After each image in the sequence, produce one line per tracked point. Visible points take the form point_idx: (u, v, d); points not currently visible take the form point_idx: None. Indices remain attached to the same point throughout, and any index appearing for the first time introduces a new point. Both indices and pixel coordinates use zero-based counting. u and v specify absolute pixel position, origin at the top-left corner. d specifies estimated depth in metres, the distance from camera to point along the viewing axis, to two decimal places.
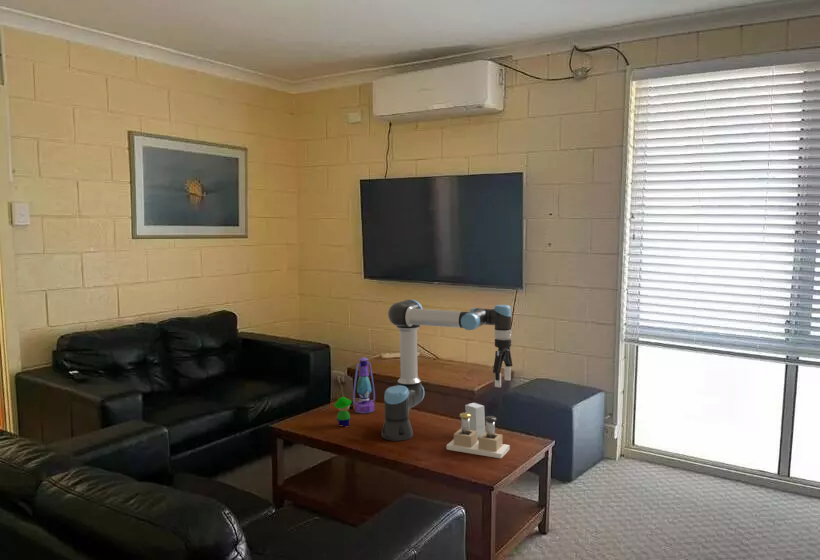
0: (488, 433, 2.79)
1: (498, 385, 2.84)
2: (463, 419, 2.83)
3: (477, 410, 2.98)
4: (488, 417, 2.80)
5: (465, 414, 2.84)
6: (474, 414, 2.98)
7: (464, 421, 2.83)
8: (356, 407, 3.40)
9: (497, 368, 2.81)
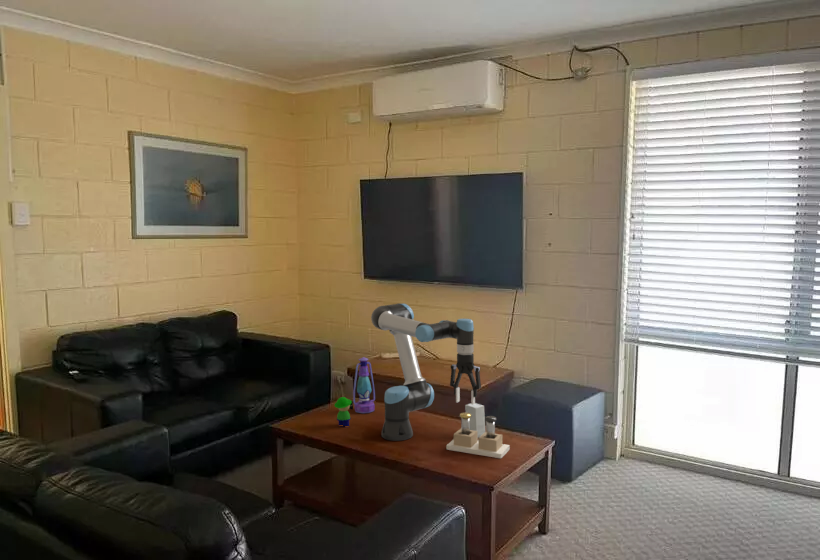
0: (488, 433, 2.79)
1: None
2: (463, 419, 2.83)
3: (477, 410, 2.98)
4: (488, 417, 2.80)
5: (465, 414, 2.84)
6: (474, 414, 2.98)
7: (464, 421, 2.83)
8: (356, 407, 3.40)
9: None
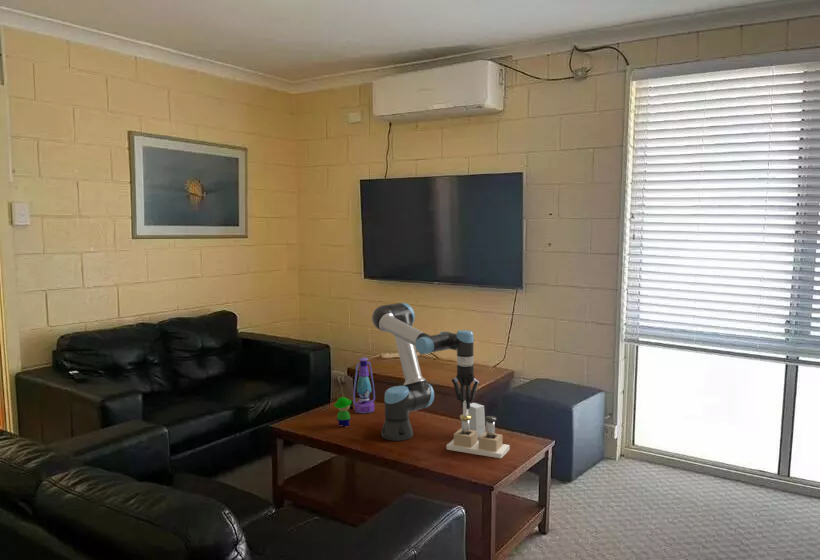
0: (488, 433, 2.79)
1: None
2: (463, 421, 2.83)
3: (477, 410, 2.98)
4: (488, 417, 2.80)
5: None
6: (474, 414, 2.98)
7: (464, 423, 2.83)
8: (356, 407, 3.40)
9: None
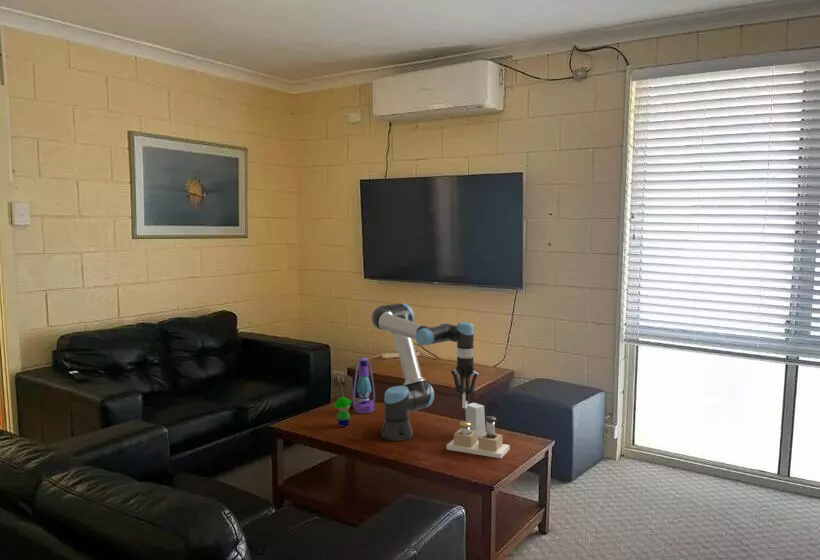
0: (488, 433, 2.79)
1: None
2: (463, 428, 2.84)
3: (477, 410, 2.98)
4: (488, 417, 2.80)
5: (465, 423, 2.85)
6: (474, 414, 2.98)
7: (464, 430, 2.84)
8: (356, 407, 3.40)
9: None
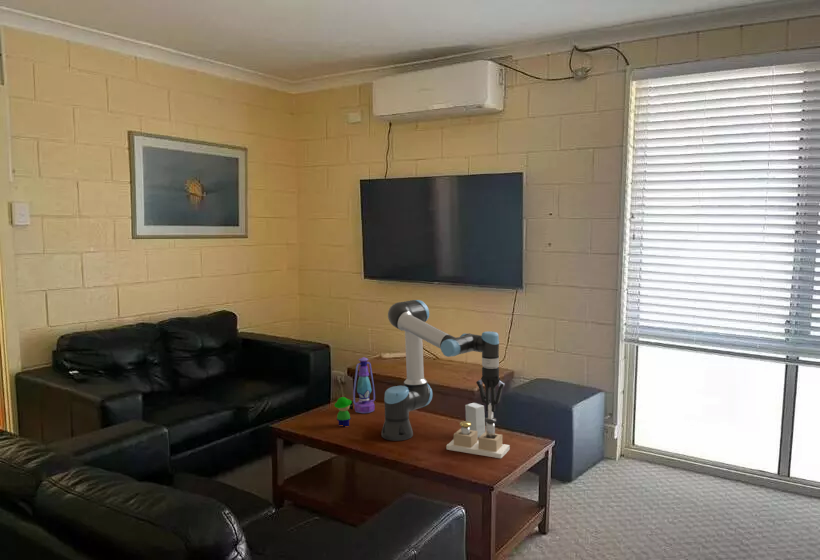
0: (488, 434, 2.79)
1: None
2: (463, 428, 2.84)
3: (477, 410, 2.98)
4: None
5: (465, 423, 2.85)
6: (474, 414, 2.98)
7: (464, 430, 2.84)
8: (356, 407, 3.40)
9: None
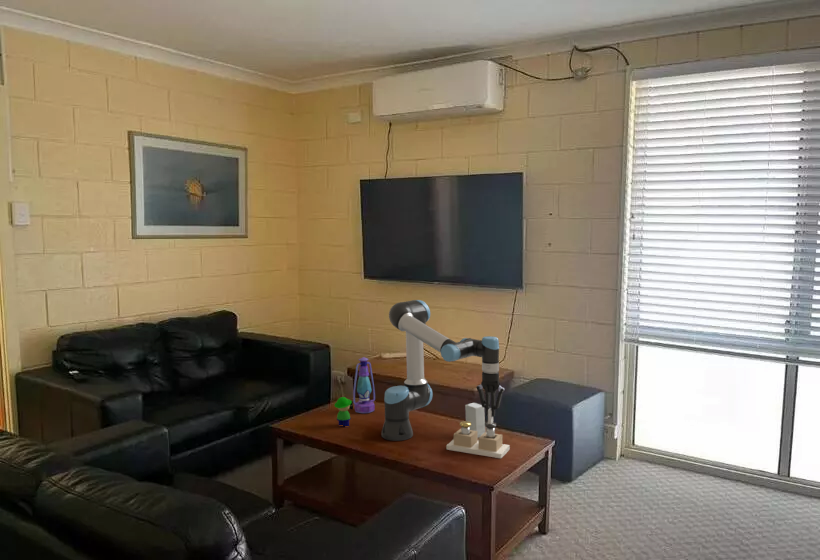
0: None
1: None
2: (463, 428, 2.84)
3: (477, 410, 2.98)
4: None
5: (465, 423, 2.85)
6: (474, 414, 2.98)
7: (464, 430, 2.84)
8: (356, 407, 3.40)
9: None
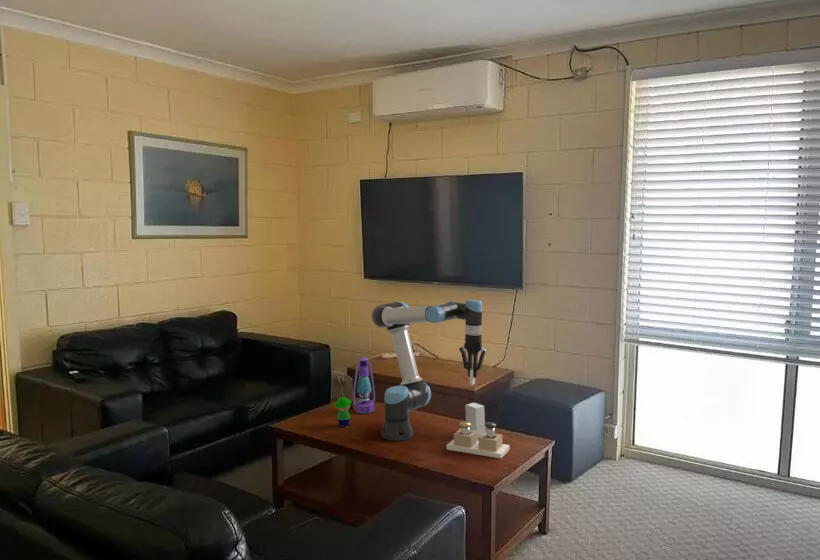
0: None
1: None
2: (463, 428, 2.84)
3: (477, 410, 2.98)
4: (488, 423, 2.80)
5: (465, 423, 2.85)
6: (474, 414, 2.98)
7: (464, 430, 2.84)
8: (356, 407, 3.40)
9: None
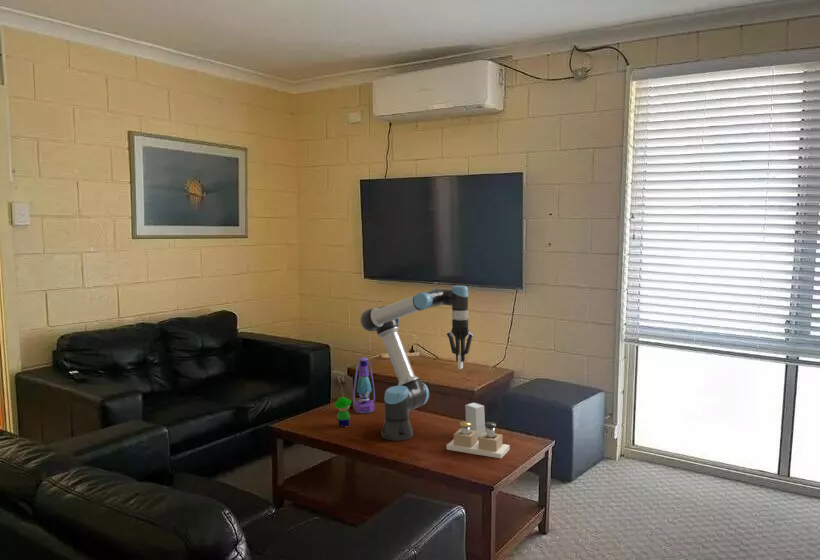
0: None
1: None
2: (463, 428, 2.84)
3: (477, 410, 2.98)
4: (488, 423, 2.80)
5: (465, 423, 2.85)
6: (474, 414, 2.98)
7: (464, 430, 2.84)
8: (356, 407, 3.40)
9: None
